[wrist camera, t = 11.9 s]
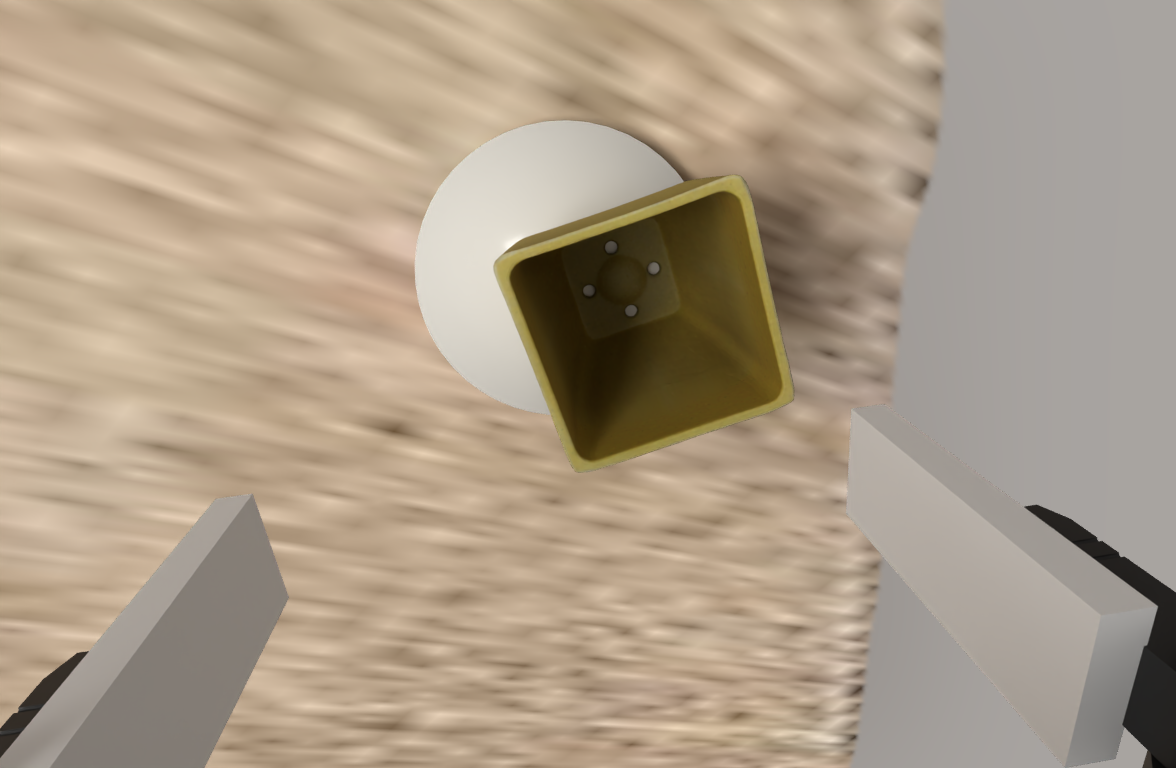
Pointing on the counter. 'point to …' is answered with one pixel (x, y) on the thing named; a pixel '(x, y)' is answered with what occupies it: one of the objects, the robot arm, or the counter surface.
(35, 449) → the counter surface
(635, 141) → the white flat disc
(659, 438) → the flower pot
